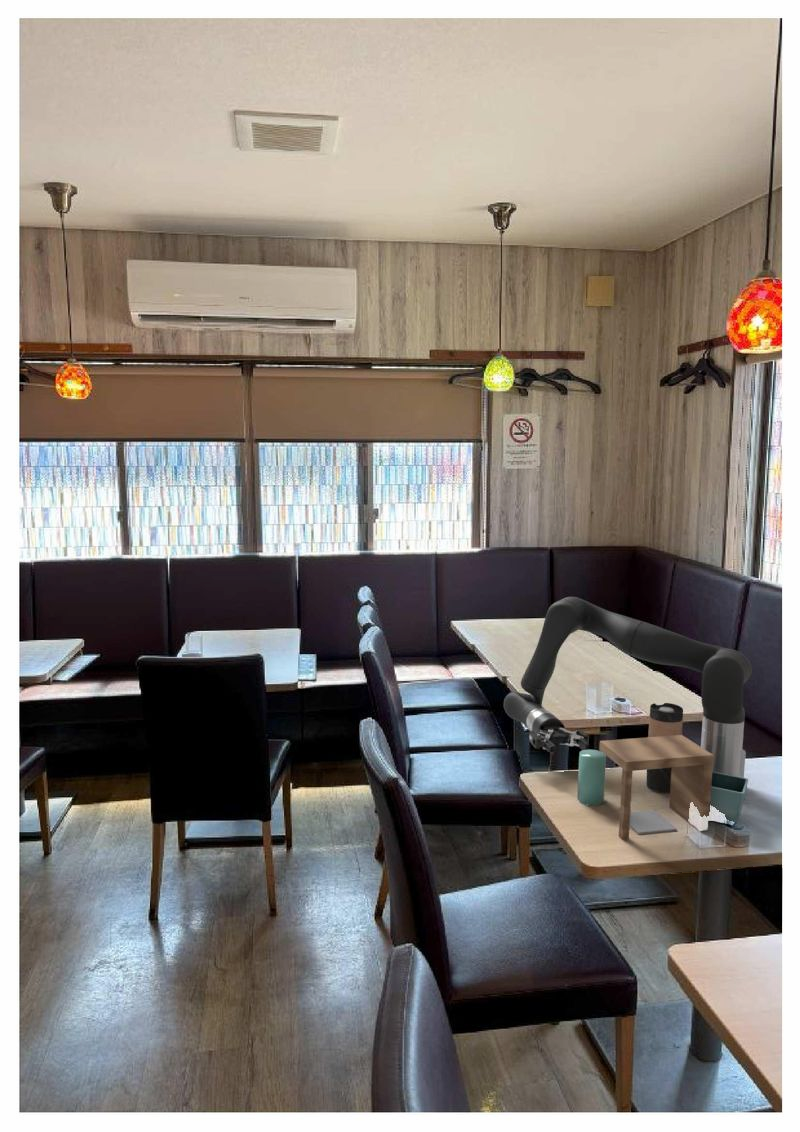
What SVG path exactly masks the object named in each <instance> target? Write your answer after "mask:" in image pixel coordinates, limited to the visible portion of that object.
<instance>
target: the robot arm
mask: <svg viewBox="0 0 800 1132" xmlns="http://www.w3.org/2000/svg"><path fill="white" fill-rule="evenodd" d="M577 631H583V632H584V631H585V632H588V633H591V634H594V635H597V636H601V637H602V638H604V639H606V640H607V641H608V642H610V643H611V644H612V645H613V646H614V647H616V648H617V649H618V650H620V652H623V653H625V654H626V655H629V656H631V657H634V658H636V659H639V660H642V661H646V662H649V663H653V664H657V665H664V666H673V667H680V668H686V669H691V670H693V671H695V672H698V673H701V674H702V675H701V677H702V680H701V706H702V722H701V724H702V725H701V740H700V747H702V748H703V749H705V750H706V751H708V752H710V753H711V754H713V769H712V772H717V773H722V774H726V775H731V776H737V777H742V778H745V768H746V767H745V765H746V755H747V753H746V750H745V749H743V743H744V729H745V728H744V727H745V717H746V710H745V707H743V706H744V704H743V697H744V696H743V695H744V686H745V685H744V684H745V683H746V682H747V681H748V680H749V679H750V677H751V676H752V672H753V668H752V664H751V662H750V660H749V659H748V657H747V656H746V655H744V654H743V653H742V652H740V651H738V650H736V649H733V648H727V647H723V646H720V645H719V646H718V645H713V644H709V643H706V642H702V641H698V640H695V639H692V638H689V637H687V636H686V635H685V636H684V635H682V634H679V633H676V632H674V631H671V630H668V629H665V628H663V627H660V626H657V625H655V624H651V623H649V622H646V621H643V620H642V621H641V620H639V619H636V618H633V617H629V616H626V615H623V614H619V613H616V612H612V611H610V610H607V609H604V608H602V607H600V606H597V605H595V604H593V603H591V602H589V601H587V600H585V599H582V598H580V597H576V596H567V597H564V598H562V599H560V600H557V601H556V602H554V603H553V604H551V605H550V606H549V607H548V609H547V612H546V614H545V618H544V621H543V626H542V630H541V633H540V635H539V639H538V642H537V645H536V647H535V650H534V652H533V655H532V656H531V659H530V661H529V663H528V666H527V667H526V669H525V671H524V673H523V675H522V677H521V679H520V686H521V688H522V689H523V690H524V691H525V692H526V693H523V692H518V691H511V692H509V693H508V694H507V695H506V696H505V698H504V700H503V709H504V711H505V714H507V717H509V718H511V719H512V720H515V721H517V722H518V723H521V724H522V725H524V726H525V727H526V728H527V729H528V730H529V739H528V741H529V742H530V744H531V745H532V746H533V747H534V748H535V749H536V750H540V749H541V748H542V749H543V750H546V751H547V752H548V753H550V754H551V755H556V749H557V748H556V747H557V746H556V745H564V746H565V745H566V746H569V747H574V746H575V747H578V748H579V749H580V750H581V751H582V750H590V744H589V741H590V740H589V739H590V735H588V734H587V733H586V732H585V731H583V730H582V729H580V728H578V727H577V728H574V731H571V730H569V729H567V728H566V727H565V725H564V723H563V722H562V720H560V719H559V718H558V717H557V716H555V714H553V713H552V712H550V710H547V709H546V708H544V706H543V699H544V695H545V692H546V691H545V690H546V688H547V686H548V685H549V683H550V680H551V678H552V676H553V674H554V671H555V668H556V662H557V658H558V654H559V651H560V649H561V648H562V646H563V644H564V643H565V641H566V640H567V638H568V637H569V636H570V635H571V634H574V633H575V632H577Z"/></svg>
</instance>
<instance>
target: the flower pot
mask: <svg viewBox="0 0 800 1132" xmlns="http://www.w3.org/2000/svg"><path fill="white" fill-rule="evenodd" d="M748 783H749V779H748V778H745V777H744V778H742V777H737V776H731V775H726V774H722V773H717V772H712V783H711V798H710V805H711V806H713V807H715V808H716V809H717V810H719V812H721V813H723V814H725V817H726V819H727V820H729V821H733V822H736V823H737V821H738V820H739V818H740V815H741V812H742V809H743V806H744V802H745V798H746V793H747V788H748Z"/></svg>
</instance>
